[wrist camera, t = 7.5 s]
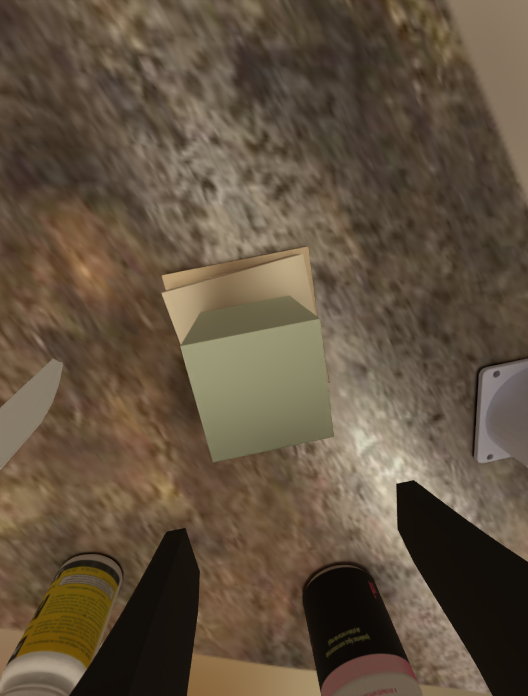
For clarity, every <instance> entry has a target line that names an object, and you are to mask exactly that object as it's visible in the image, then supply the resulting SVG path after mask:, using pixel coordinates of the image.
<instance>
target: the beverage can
mask: <svg viewBox="0 0 528 696" xmlns="http://www.w3.org/2000/svg"><path fill="white" fill-rule="evenodd" d="M303 606H304V611H305V616H306V621H307V626H308V631H309V636H310V641H311V646H312V651H313V656H314V661H315V666H316V671H317V676H318V681H319V686H320V692H321V696H423V693H422V691H421V689H420V686H419V684H418V682H417V679H416V677H415V675H414V672H413V670H412V668H411V665H410V663H409V661H408V658H407V656H406V654H405V651H404V649H403V647H402V644H401V642H400V640H399V637H398V635H397V633H396V630H395V628H394V626H393V623H392V621H391V619H390V616H389V614H388V612H387V609H386V607H385V605H384V602H383V600H382V598H381V595H380V593H379V591H378V588H377V586H376V584H375V581H374V579H373V578H372V576H371V575H370V574H369V573H367V572H366V571H364V570H362V569H360V568H358V567H355V566H351V565H337V566H332V567H329V568H327V569H324V570H323V571H321V572H319V573H318V574H316V575H315V576H314V577H313V578H312V579H311V581H310V582H309V584H308V585H307V587H306V589H305V591H304V594H303Z"/></svg>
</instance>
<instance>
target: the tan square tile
mask: <svg viewBox="0 0 528 696" xmlns="http://www.w3.org/2000/svg"><path fill="white" fill-rule="evenodd" d="M289 295H290V296H291V297H292V298H293V299H295V300H296V301H297V302H299V303H300V304H301V305H303V306H304V307H305V308H307V309H308V310H309V311H311V312H312V313H313V314H314V315H316V314H315V309H314V305H313V300H312V295H311V290H310V285H309V281H308V276H307V271H306V266H305V261H304V257H303V254H293V255H290V256H286V257H282V258H279V259H275V260H272V261H268V262H264V263H261V264H257V265H254V266H250V267H246V268H243V269H239V270H236V271H232V272H228V273H225V274H221V275H218V276H214V277H210V278H207V279H203V280H200V281H196V282H192V283H189V284H185V285H182V286H178V287H174V288H171V289H169V290H167V291H165V292H163V293H162V296H163V298H164V301H165V304H166V306H167V309H168V312H169V314H170V317H171V320H172V323H173V325H174V328H175V331H176V333H177V336H178V339H179V341H180V344H182V342H183V341H184V339H185V337H186V335H187V334H188V332H189V330H190V329H191V327H192V325H193V324H194V322H195V320H196V318H197V317H198V315H199V313H201V312H206V311H211V310H217V309H222V308H227V307H232V306H237V305H242V304H248V303H253V302H258V301H263V300H268V299H273V298H279V297H284V296H289ZM325 366H326V362H325ZM326 374H327V382H328V383H329V382H330V381H329V377H328V372H327V367H326Z"/></svg>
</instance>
